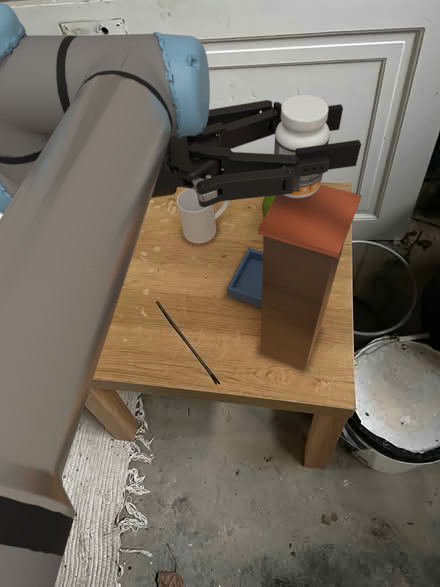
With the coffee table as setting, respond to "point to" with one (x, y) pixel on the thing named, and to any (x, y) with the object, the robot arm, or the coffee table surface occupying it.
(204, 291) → the coffee table surface
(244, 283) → the blue tray
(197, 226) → the mug
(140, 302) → the coffee table surface
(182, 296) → the coffee table surface
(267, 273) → the stand
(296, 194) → the pill bottle
